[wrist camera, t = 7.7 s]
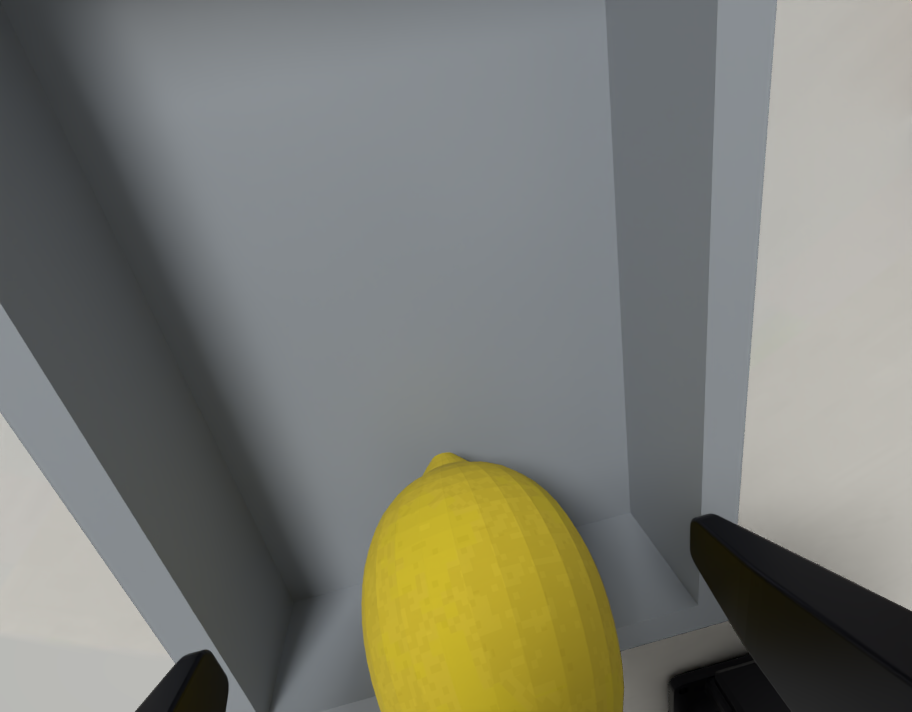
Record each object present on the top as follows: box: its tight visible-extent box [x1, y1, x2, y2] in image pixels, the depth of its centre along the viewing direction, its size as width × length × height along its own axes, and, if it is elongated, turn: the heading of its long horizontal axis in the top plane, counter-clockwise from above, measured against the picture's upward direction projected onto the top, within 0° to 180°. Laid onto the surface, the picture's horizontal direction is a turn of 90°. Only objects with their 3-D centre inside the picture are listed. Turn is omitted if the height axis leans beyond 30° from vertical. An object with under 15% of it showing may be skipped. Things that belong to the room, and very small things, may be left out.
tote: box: [0, 0, 777, 712], centre depth 10 cm, size 21×14×4 cm, turn 11°
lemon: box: [361, 452, 624, 712], centre depth 10 cm, size 6×6×8 cm
